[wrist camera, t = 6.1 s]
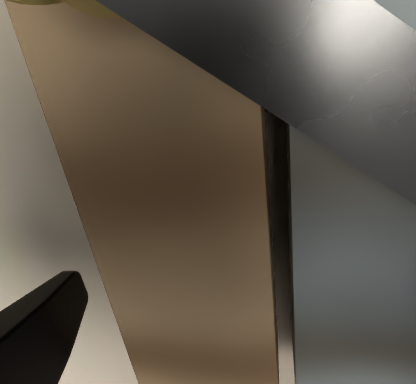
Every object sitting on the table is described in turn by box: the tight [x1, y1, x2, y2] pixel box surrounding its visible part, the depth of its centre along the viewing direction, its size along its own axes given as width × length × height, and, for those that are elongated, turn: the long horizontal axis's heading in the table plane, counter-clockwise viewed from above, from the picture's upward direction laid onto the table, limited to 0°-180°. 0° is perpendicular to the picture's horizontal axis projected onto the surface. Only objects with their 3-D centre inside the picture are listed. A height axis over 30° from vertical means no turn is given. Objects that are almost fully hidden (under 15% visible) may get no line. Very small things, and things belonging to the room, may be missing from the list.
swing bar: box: [6, 0, 416, 205], centre depth 6 cm, size 14×3×2 cm, turn 59°
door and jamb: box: [4, 0, 416, 384], centre depth 9 cm, size 18×16×4 cm
